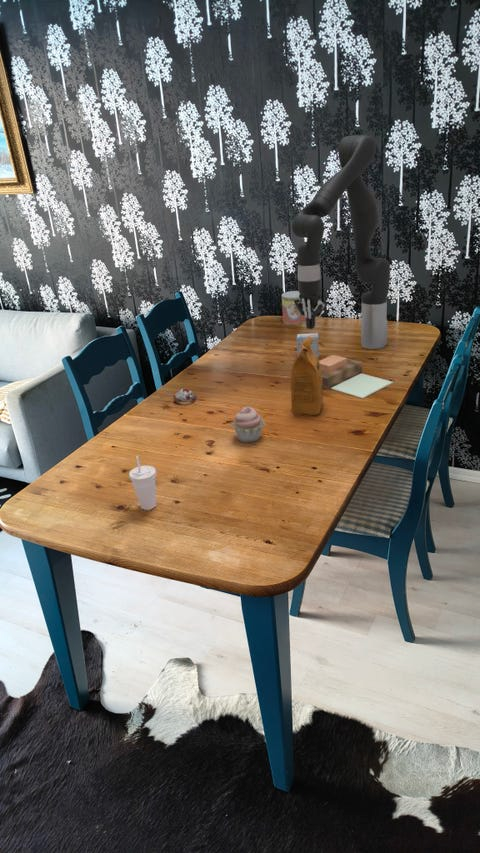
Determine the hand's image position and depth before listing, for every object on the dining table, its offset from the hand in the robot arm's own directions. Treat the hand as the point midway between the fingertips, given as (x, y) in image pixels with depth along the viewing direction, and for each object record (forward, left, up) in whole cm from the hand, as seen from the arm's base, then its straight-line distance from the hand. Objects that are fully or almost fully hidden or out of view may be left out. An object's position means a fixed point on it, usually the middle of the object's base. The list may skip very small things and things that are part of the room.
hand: (310, 328), depth 213 cm
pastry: (+44, -17, -16) cm, 50 cm away
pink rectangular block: (0, +9, -12) cm, 15 cm away
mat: (0, +22, -16) cm, 27 cm away
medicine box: (-10, -11, -16) cm, 22 cm away
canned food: (-41, -47, -16) cm, 65 cm away
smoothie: (+89, +27, -16) cm, 94 cm away
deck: (0, +9, -16) cm, 18 cm away
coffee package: (+24, +20, -16) cm, 35 cm away
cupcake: (+49, +20, -16) cm, 55 cm away
